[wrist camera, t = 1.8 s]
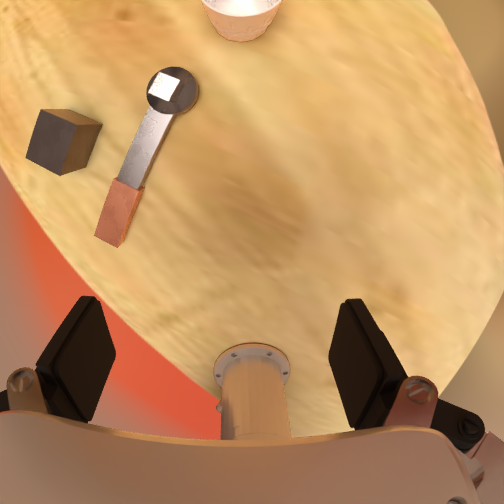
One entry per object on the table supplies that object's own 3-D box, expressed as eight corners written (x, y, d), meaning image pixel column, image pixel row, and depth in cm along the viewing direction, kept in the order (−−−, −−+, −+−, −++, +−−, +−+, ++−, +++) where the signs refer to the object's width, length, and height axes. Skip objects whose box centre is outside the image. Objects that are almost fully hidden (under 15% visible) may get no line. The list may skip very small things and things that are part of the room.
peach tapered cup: (266, -10, 24) (275, -50, 15) (281, 40, 27) (297, 10, 18) (201, 1, 25) (190, -37, 16) (215, 52, 28) (205, 25, 19)
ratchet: (130, 244, 37) (114, 262, 32) (95, 226, 36) (76, 241, 30) (207, 81, 29) (201, 72, 24) (166, 64, 28) (153, 53, 23)
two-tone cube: (86, 167, 32) (59, 175, 26) (53, 151, 31) (25, 157, 25) (102, 124, 30) (77, 124, 24) (68, 109, 29) (40, 109, 23)
